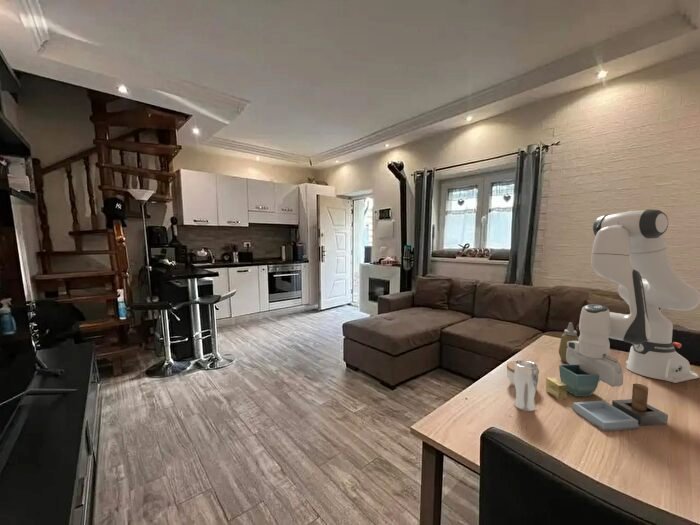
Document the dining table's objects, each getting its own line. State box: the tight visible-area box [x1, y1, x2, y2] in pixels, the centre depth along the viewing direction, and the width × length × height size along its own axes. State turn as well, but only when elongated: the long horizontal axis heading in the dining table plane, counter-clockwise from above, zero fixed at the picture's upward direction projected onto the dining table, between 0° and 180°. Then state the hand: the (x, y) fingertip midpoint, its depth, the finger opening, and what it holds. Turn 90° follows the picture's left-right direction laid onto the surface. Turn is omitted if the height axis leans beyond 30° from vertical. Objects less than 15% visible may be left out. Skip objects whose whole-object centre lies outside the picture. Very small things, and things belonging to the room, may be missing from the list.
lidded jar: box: [506, 360, 540, 388], centre depth 114 cm, size 11×11×9 cm
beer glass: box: [514, 359, 539, 413], centre depth 100 cm, size 7×7×15 cm
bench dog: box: [545, 376, 567, 400], centre depth 108 cm, size 3×6×5 cm, turn 5°
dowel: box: [631, 383, 649, 412], centre depth 94 cm, size 4×4×10 cm
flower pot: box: [558, 364, 600, 397], centre depth 109 cm, size 9×9×9 cm
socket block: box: [611, 398, 669, 427], centre depth 95 cm, size 9×9×3 cm
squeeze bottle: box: [558, 322, 579, 364], centre depth 136 cm, size 8×8×18 cm
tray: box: [572, 400, 639, 432], centre depth 94 cm, size 11×11×2 cm
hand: (591, 385), depth 109 cm, fingers closed
